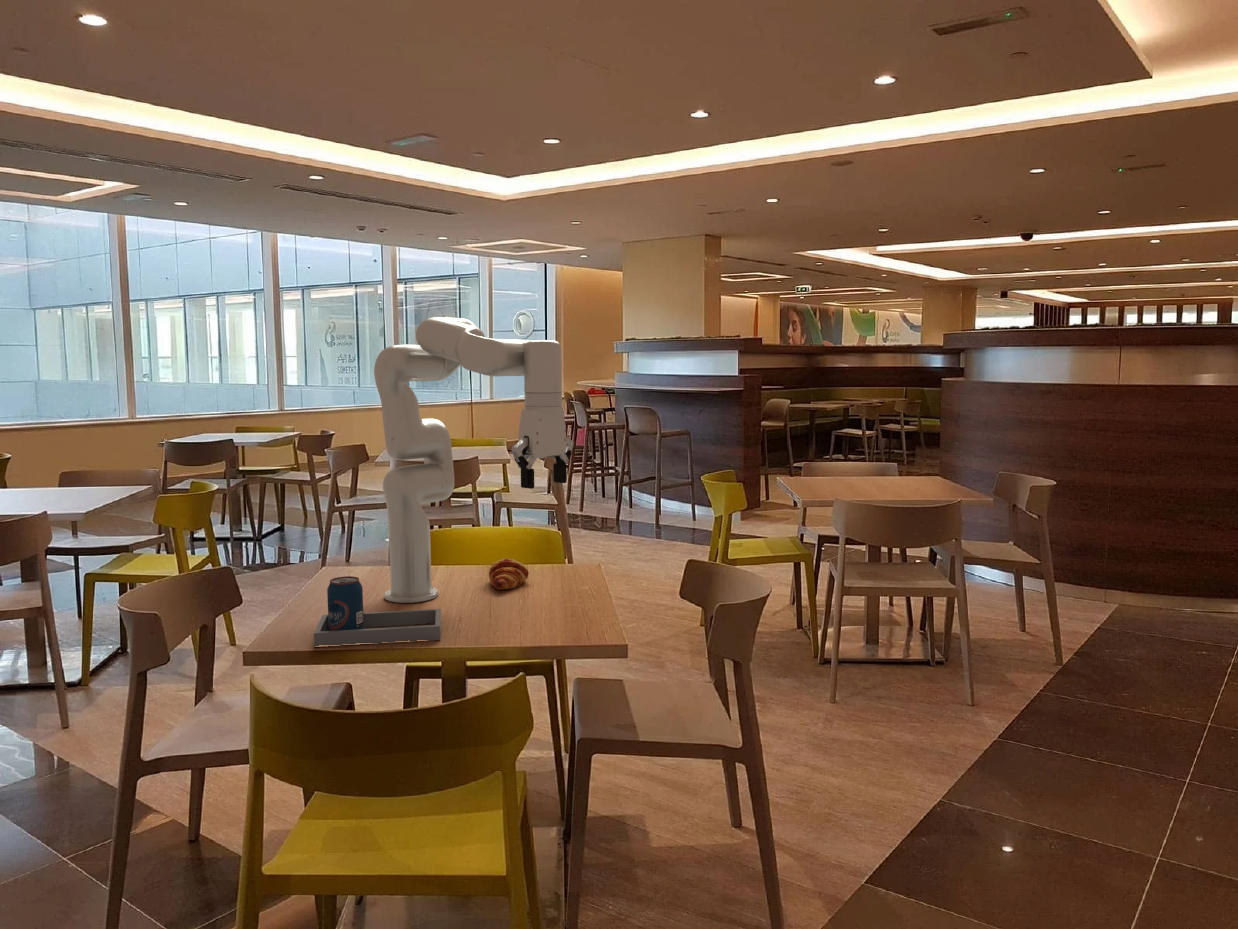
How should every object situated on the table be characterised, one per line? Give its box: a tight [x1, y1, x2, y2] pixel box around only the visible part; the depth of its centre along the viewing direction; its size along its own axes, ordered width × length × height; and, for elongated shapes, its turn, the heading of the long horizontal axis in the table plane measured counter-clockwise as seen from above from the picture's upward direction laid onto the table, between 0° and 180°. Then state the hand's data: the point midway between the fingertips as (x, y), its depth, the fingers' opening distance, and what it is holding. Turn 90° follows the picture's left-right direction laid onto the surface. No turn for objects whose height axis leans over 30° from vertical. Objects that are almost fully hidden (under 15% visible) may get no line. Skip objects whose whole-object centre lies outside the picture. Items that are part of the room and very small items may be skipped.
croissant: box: [488, 558, 530, 591], centre depth 227 cm, size 21×10×8 cm, turn 178°
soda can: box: [326, 575, 365, 631], centre depth 183 cm, size 7×7×12 cm
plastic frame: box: [313, 608, 442, 647], centre depth 185 cm, size 13×24×3 cm, turn 101°
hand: (544, 485), depth 182 cm, fingers open, 9 cm apart
